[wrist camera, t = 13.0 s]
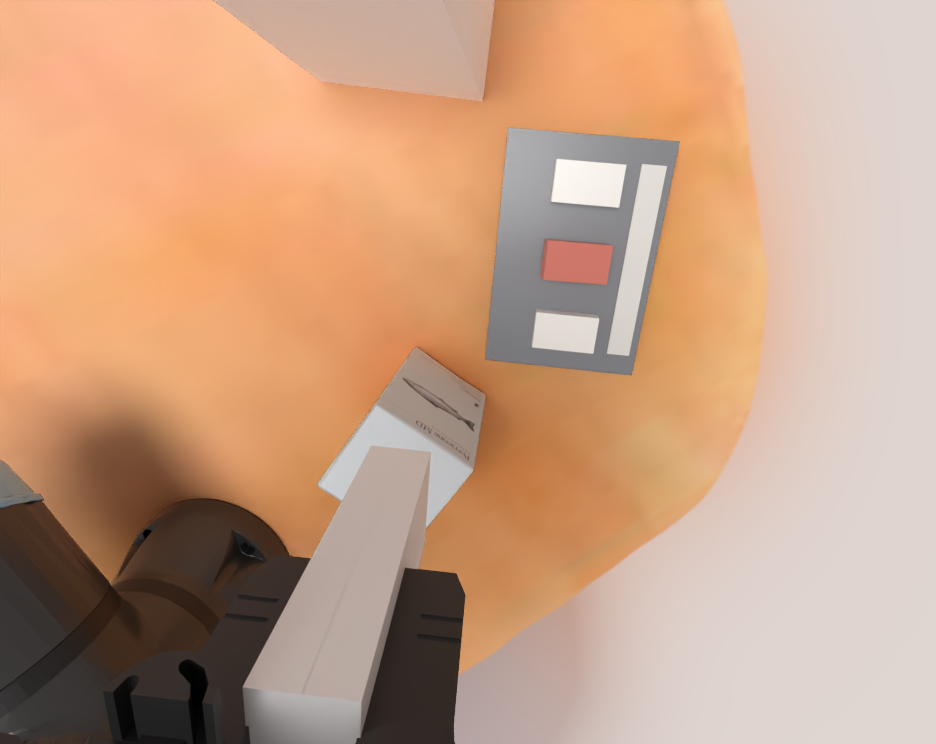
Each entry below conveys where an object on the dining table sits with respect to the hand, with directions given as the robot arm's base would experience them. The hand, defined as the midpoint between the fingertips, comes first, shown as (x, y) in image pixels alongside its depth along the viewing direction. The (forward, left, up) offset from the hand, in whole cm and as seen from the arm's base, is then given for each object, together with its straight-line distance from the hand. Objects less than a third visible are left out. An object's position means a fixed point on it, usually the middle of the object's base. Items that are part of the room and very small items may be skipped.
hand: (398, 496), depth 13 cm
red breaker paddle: (+4, -7, -24) cm, 26 cm away
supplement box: (-9, +3, -28) cm, 30 cm away
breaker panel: (+4, -7, -28) cm, 29 cm away
